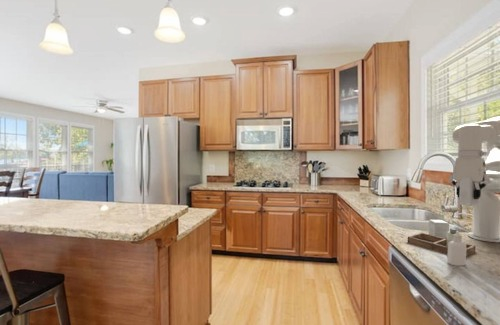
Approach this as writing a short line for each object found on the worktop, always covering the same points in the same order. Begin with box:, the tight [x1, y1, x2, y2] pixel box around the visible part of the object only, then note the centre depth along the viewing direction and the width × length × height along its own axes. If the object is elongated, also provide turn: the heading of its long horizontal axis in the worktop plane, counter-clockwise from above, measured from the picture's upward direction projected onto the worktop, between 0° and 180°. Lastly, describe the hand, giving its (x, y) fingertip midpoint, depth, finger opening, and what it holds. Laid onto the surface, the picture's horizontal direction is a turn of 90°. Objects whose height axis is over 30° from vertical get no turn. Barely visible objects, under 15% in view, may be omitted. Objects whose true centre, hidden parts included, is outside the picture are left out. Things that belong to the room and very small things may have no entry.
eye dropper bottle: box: [447, 230, 467, 267], centre depth 94 cm, size 4×6×12 cm
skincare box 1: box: [428, 219, 450, 239], centre depth 126 cm, size 6×6×7 cm
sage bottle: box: [446, 228, 462, 247], centre depth 107 cm, size 4×4×9 cm
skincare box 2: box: [458, 177, 479, 207], centre depth 110 cm, size 6×4×12 cm
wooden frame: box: [407, 232, 476, 257], centre depth 111 cm, size 12×20×2 cm, turn 30°
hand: (468, 197), depth 110 cm, fingers closed on skincare box 2, 5 cm apart
